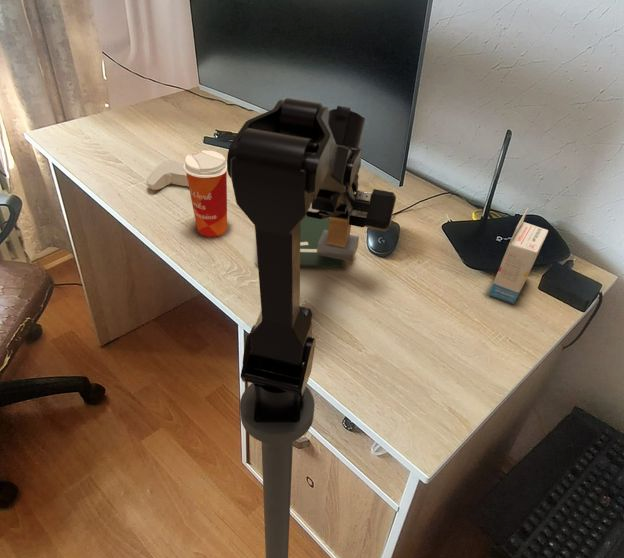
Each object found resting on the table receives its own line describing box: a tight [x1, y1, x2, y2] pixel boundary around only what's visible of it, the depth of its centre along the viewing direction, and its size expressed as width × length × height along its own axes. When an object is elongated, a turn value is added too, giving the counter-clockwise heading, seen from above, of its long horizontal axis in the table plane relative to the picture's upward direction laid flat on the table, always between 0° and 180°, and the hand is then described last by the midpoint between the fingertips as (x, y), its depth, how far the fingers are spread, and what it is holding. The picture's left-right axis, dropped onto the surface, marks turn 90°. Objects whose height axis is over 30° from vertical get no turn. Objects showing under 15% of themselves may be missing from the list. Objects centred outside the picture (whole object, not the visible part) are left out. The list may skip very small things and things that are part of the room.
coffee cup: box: [183, 149, 228, 238], centre depth 101 cm, size 8×8×15 cm
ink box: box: [488, 207, 549, 305], centre depth 93 cm, size 8×5×15 cm, turn 149°
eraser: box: [317, 192, 360, 263], centre depth 96 cm, size 5×7×14 cm
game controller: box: [146, 160, 189, 191], centre depth 116 cm, size 14×4×10 cm
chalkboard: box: [300, 215, 344, 269], centre depth 108 cm, size 24×16×1 cm, turn 2°
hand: (342, 214), depth 96 cm, fingers closed on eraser, 3 cm apart
